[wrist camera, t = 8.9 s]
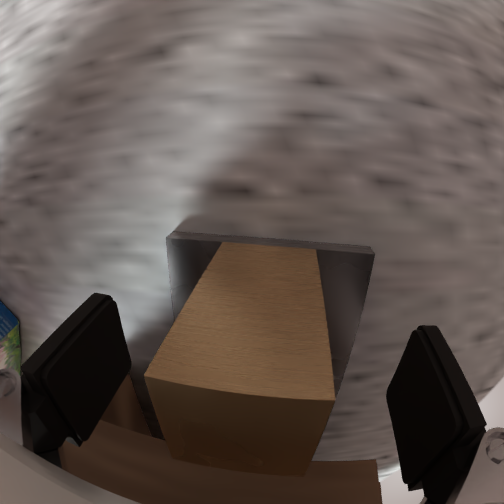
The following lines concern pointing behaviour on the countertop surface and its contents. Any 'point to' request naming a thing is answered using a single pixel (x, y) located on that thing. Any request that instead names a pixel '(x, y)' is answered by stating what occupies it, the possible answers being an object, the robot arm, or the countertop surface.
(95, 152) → the countertop surface
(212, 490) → the walnut cabinet
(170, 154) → the countertop surface
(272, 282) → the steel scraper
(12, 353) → the blue food package
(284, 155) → the countertop surface
